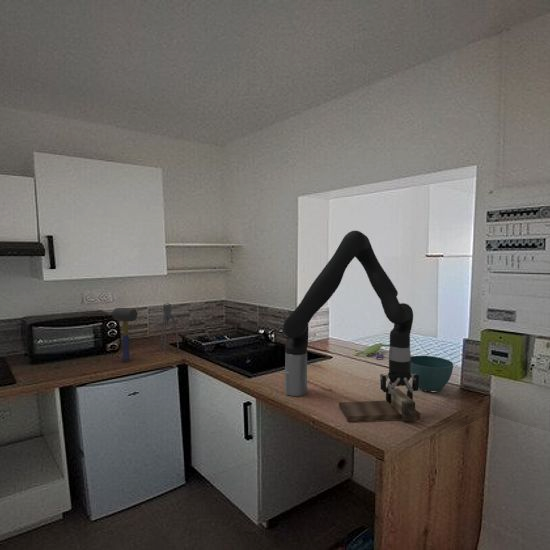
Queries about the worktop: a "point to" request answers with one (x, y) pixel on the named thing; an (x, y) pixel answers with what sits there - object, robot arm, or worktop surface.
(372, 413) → the walnut plank
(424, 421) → the worktop surface
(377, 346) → the figurine
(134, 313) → the rubber mallet
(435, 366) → the plant pot
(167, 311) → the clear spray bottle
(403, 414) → the beige wooden block
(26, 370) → the worktop surface
